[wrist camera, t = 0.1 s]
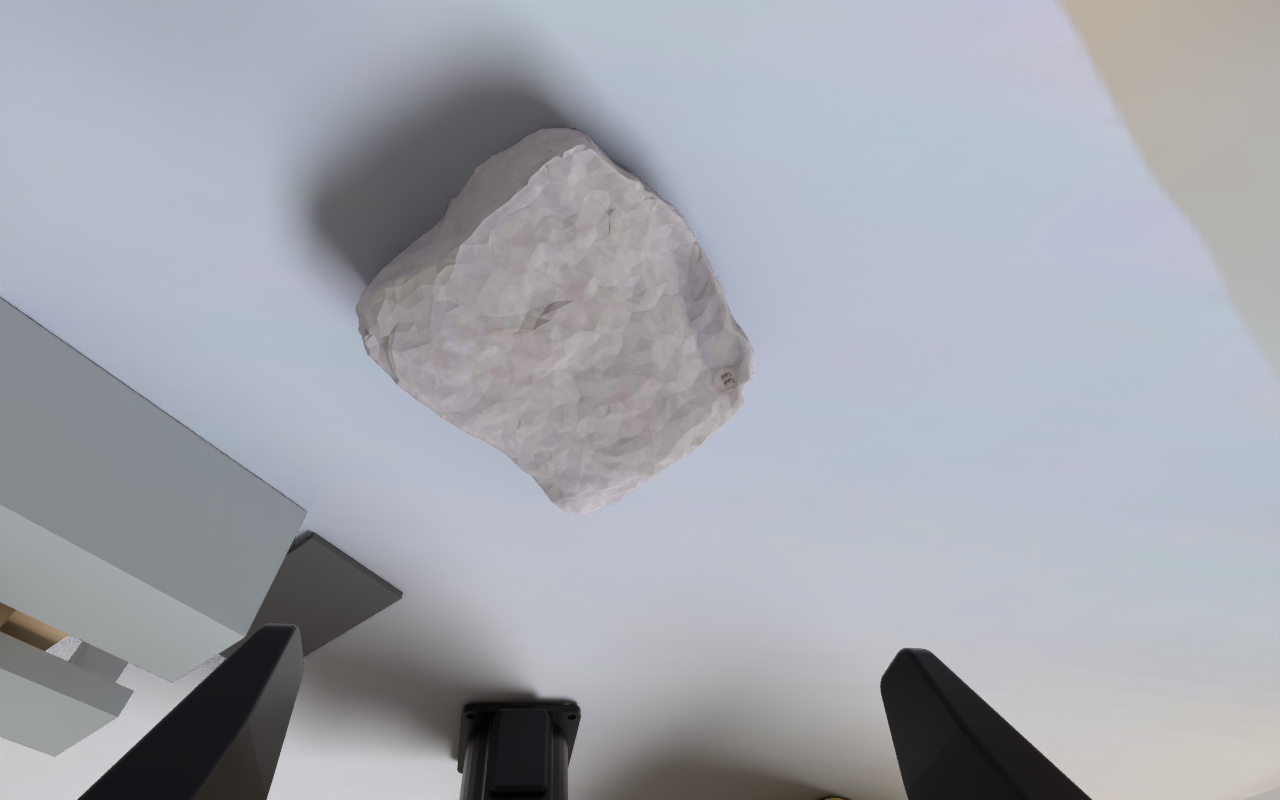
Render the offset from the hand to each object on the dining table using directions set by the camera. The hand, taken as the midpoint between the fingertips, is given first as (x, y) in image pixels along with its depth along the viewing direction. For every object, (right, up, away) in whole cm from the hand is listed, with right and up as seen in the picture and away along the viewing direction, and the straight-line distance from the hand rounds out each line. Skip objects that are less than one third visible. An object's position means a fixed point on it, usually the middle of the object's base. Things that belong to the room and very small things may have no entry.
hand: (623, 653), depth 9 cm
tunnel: (-21, 0, +15) cm, 26 cm away
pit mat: (-16, -6, +19) cm, 26 cm away
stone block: (-2, +7, +13) cm, 15 cm away
